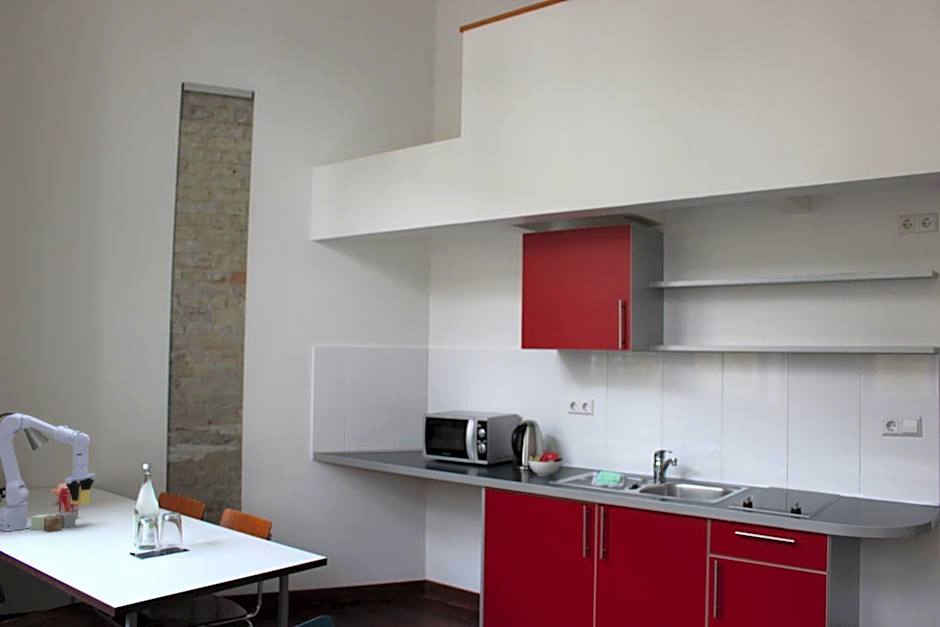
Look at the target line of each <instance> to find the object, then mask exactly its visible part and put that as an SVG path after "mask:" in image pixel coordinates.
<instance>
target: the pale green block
mask: <svg viewBox="0 0 940 627" xmlns="http://www.w3.org/2000/svg"><path fill="white" fill-rule="evenodd" d="M51 516H52V514H37V515H33V516H31V519H30V521H31V522H30V526H31V528H30V530H31V531H45V517H51Z"/></svg>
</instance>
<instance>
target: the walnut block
mask: <svg viewBox="0 0 940 627" xmlns="http://www.w3.org/2000/svg"><path fill="white" fill-rule="evenodd" d="M61 524H62V518H61V517H60V516H56V515H54V516H52V515H51V517H45V530H44V532H46V533H54V532H60V531H61V532H62V528H61Z"/></svg>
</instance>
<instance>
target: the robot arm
mask: <svg viewBox="0 0 940 627" xmlns="http://www.w3.org/2000/svg"><path fill="white" fill-rule="evenodd" d="M24 429H34V430H37V431H41V432H44V433H46V434H49V435H51V436H52V437H53V439H54V440H55V441H58V442H61V443H63V444H66V445H69V446H72V448H73V449H72V475H71V476H69V477H66V478H65V479H64V480H65V481H64V483H66V486H67V487H68V489H69V491H70V494H71V498H72V501H78V496H79V489H80V486H81V489H85V490H90V491H91V488H92V486H93V484H94V482H95V480H94V479H95V478H96V477H95V476H96V473H94V472H89V462H90V461H89V459H90V458H89V455H90V454H89V449H90V448H89V445H90V443H91V438H90V436H89V434H87V433H85V432H81V431H80V430H74V429H72V428H69V426H68V425H59V426H55V425H53V424H50V423H47V422H45V421H44V420H41V419H38V418H36V417H33V416H31V415H28V414H24V413H22V412H21V413H20V412H16V413H14V414H10V415H9V414H8V415H7V416H6V417H5V418H4V419H2V421H1V422H0V460H1V464H2V469H3V473H4V476H5V481H6V484H5V485H6V486H5V491H6V492H5V493H6V494H5V502H6V505H5V506H3V507H0V530H1V531H3V532H13V531H19V530H26V529H31V525H28V501H27V500H28V498H29V497H30V491H29V489H28V488H27V487H26V484H25V482H24V480H23V479H22V476H21V473H20V469H19V463H18V461H17V456H16V452H15V448H14V443H13V438H14V437H15V436H16V435H17V433H18V432H19V431H20V430H24Z"/></svg>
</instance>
